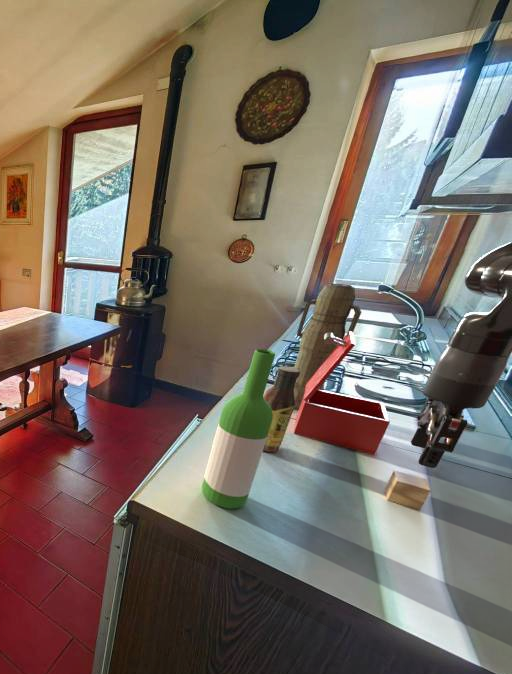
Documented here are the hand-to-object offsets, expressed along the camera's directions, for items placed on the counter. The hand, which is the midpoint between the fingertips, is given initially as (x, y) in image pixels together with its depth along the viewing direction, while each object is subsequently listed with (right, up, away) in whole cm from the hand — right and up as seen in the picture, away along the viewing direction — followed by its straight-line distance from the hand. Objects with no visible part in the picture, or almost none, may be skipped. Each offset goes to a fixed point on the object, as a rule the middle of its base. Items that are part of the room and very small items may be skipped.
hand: (421, 455), depth 73 cm
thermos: (+10, +7, +43) cm, 44 cm away
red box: (+6, +1, +27) cm, 28 cm away
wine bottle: (-36, -9, +3) cm, 37 cm away
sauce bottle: (-15, -2, +21) cm, 26 cm away
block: (0, -9, +4) cm, 10 cm away
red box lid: (+3, +18, +23) cm, 29 cm away
